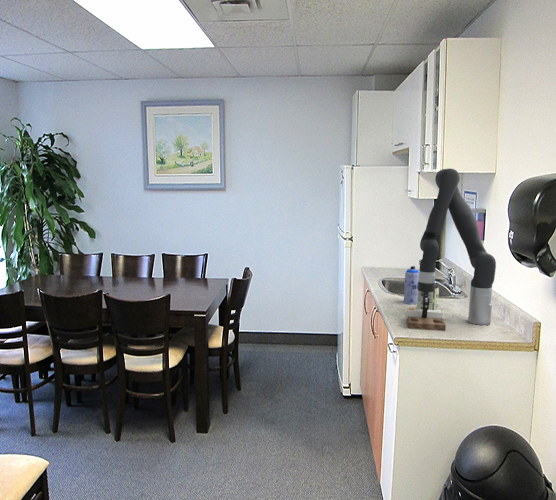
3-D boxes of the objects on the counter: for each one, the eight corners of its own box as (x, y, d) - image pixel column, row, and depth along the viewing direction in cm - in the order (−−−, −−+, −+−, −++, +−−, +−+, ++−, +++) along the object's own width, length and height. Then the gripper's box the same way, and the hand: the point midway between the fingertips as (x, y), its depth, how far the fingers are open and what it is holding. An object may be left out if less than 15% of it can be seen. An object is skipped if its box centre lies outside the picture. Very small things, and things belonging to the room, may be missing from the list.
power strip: (441, 320, 228) (441, 309, 228) (442, 323, 225) (442, 311, 224) (406, 318, 232) (406, 307, 231) (406, 320, 228) (407, 309, 227)
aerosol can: (409, 305, 255) (411, 268, 252) (400, 301, 262) (402, 265, 259) (421, 303, 258) (423, 267, 255) (411, 300, 266) (413, 264, 262)
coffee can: (416, 307, 251) (417, 281, 249) (437, 309, 248) (438, 282, 246) (416, 312, 241) (418, 285, 239) (438, 314, 238) (439, 286, 236)
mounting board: (442, 324, 223) (442, 318, 223) (445, 330, 214) (445, 325, 213) (406, 321, 226) (407, 316, 226) (408, 328, 217) (408, 322, 216)
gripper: (436, 284, 217) (433, 321, 219) (433, 278, 231) (430, 312, 233) (419, 283, 218) (416, 319, 221) (417, 277, 232) (414, 311, 235)
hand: (423, 315), depth 227 cm, fingers open, 5 cm apart
